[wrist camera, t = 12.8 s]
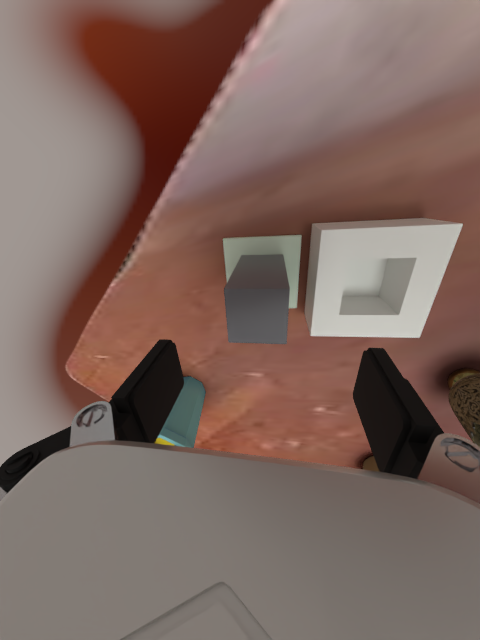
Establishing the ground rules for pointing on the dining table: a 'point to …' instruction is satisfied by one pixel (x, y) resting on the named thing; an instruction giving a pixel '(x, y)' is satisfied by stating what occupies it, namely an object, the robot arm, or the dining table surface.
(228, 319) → the plug
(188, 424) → the cup
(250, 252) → the mat
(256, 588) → the robot arm
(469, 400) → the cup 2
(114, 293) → the dining table surface
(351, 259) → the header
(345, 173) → the dining table surface
